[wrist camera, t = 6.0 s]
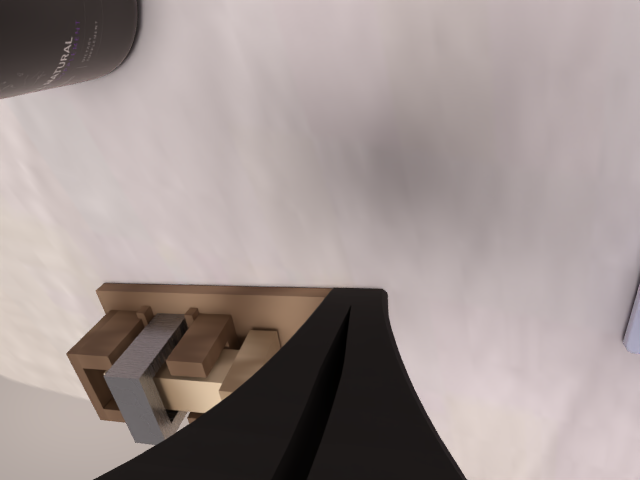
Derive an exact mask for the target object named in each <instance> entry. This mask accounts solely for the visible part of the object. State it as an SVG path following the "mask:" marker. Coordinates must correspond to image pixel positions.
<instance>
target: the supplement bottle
mask: <svg viewBox="0 0 640 480" xmlns="http://www.w3.org/2000/svg"><path fill="white" fill-rule="evenodd" d="M137 17H138V11H137V0H0V99H4V98H8V97H13V96H18V95H23V94H28V93H32V92H37V91H42V90H47V89H52V88H56V87H61V86H66V85H71V84H76V83H80V82H84V81H88V80H93V79H96V78H99V77H102V76H104V75H106V74H108V73H110V72H111V71H113V70H114V69H115V68H117V67H118V66H119V65H120V64H121V63H122V61H123V60H124V59H125V58H126V56H127V54H128V53H129V51H130V49H131V47H132V44H133V41H134V38H135V33H136V28H137Z"/></svg>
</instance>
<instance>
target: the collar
mask: <svg viewBox="0 0 640 480" xmlns="http://www.w3.org/2000/svg"><path fill="white" fill-rule="evenodd" d="M184 315H185V314H169V313H157V314H156V315H155V316H154V317H153V319H152V320H151V321H150V322H149V323H148V325H147V326H146V327H145V328H144V329H143V330H142V332H141V333H140V334H139V335H138V336H137V337H136V339H135V340H134V341H133V342H132V343H131V344H130V346H129V347H128V348H127V349H126V350H125V351H124V353H123V354H122V355H121V356H120V357H119V358H118V360H117V361H116V362H115V363H114V364H113V365H112V367H111V368H110V369H109V370H108V371H107V373H106V374H105V375H104V378H105V380H106V383H107V385H108V387H109V389H110V391H111V393H112V395H113V397H114V399H115V401H116V403H117V405H118V407H119V409H120V412H121V414H122V416H123V418H124V420H125V422H126V424H127V426H128V428H129V430H130V432H131V434H132V436H133V438H134V440H135V443H144V444H152V445H157V444H159V443H160V442H162V441H164V440H165V439H167V438H168V437H170V436H172V435H173V434H175V433H176V431H177V429H178V428H179V426H180V424H181V422H182V420H183V419H184V417H185V415H186V414H187V412H188V411H179V410H169V409H165V408H164V405H163V403H162V400H161V398H160V395H159V393H158V390H157V388H156V386H155V383H154V381H153V377H154V376H155V374H156V373H157V372H158V370H159V369H160V368H161V366H162V365H163V363H164V362H165V361H166V359H167V358H168V356H169V355H170V354H171V352H172V351H173V349H174V348H175V347H176V345H177V344H178V343H179V341H180V340H181V338H182V337H183V336H184V334H185V333H186V331H187V330H188V329H189V328H188V325H187V322H186V319H185V316H184Z"/></svg>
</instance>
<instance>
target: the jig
mask: <svg viewBox="0 0 640 480" xmlns="http://www.w3.org/2000/svg"><path fill="white" fill-rule="evenodd" d="M331 290H332V289H329V288H285V287H242V286H198V285H154V284H111V283H104V284H103V285H102V286H101V287H99V288H98V289H97V290H96V293H97V295H98V297H99V300H100V302H101V304H102V307H103V309H104V311H105V313H106V315H105V316H104V317H103V318H102V319H101V320H100V321H99V322H98V323H97V324H96V325H95V326H94V327H93V328H92V329H91V330H90V331H89V332H88V333H87V334H86V335H85V336H84V337H83V338H82V339H81V340H80V341H79V342H78V343H77V344H76V345H75V346H73V347H72V348H71V349H70V350H69V351H68V352H67V353H66V354H67V356H68V358H69V360H70V362H71V364H72V366H73V368H74V370H75V372H76V373H77V375H78V377H79V379H80V381H81V383H82V385H83V387H84V389H85V391H86V393H87V395H88V397H89V398H90V400H91V402H92V404H93V406H94V408H95V410H96V412H97V414H98V416H99V417H100V420H107V421H116V422H125V420H124V418H123V416H122V414H121V412H120V409H119V407H118V405H117V403H116V401H115V399H114V397H113V395H112V393H111V391H110V389H109V387H108V385H107V383H106V380H105V378H104V373H105V371H106V370H109V369H110V368H111V367H112V365H113V364H114V363H115V362H116V361H117V360H118V358H119V357H120V356H121V355H122V354H123V353H124V351H125V350H126V349H127V348H128V347H129V346H130V344H131V343H132V342H133V341H134V340H135V339H136V337H137V336H138V335H139V334H140V333H141V332H142V330H143V329H144V328H145V327H146V326H147V325H148V323H149V322H150V321H151V320H152V319H153V317H154V316H155V315H156V314H157V313H169V314H185V315H184V316H185V319H186V322H187V325H188V328H189V329H188V330H187V331H186V333H185V334H184V336H183V337H182V338H181V340H180V341H179V343H178V344H177V345H176V347H175V348H174V350H173V351H172V352H171V354H170V355H169V357H168V358H167V359H166V363H167V366H168V368H169V371H170V374H171V375H175V376H188V377H201V378H207V376H208V375H209V373H210V371H211V369H212V368H213V366H214V364H215V362H216V361H217V359H218V357H219V355H220V354H221V352H222V350H223V349H231V350H240V348H241V346H242V345H243V343H244V341H245V339H246V337H247V335H248V333H249V331H250V330H261V331H277V334H278V339H279V344H280V348H282V347H283V346H284V345H285V344H286V342H287V341H288V340H289V339H290V338H291V337H292V336H293V335H294V334H295V333H296V331H297V330H298V329H299V328H300V327H301V326H302V325H303V324H304V323H305V321H306V320H307V319H308V318H309V317H310V315H311V314H312V313H313V312H314V311H315V309H316V308H317V307H318V306H319V305H320V303H321V302H322V301H323V300H324V298H325V297H326V296H327V295H328V293H329V292H330V291H331ZM203 414H204V413H199V412H190V414H189V416H188V417H187V418H188V421H189V424H190V423H192V422H193V421H194V420H196V419H197V418H198V417H200V416H201V415H203ZM125 423H126V422H125Z"/></svg>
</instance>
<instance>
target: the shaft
mask: <svg viewBox="0 0 640 480" xmlns="http://www.w3.org/2000/svg"><path fill="white" fill-rule="evenodd" d="M280 349H281V348H280V344H279V339H278V334H277V331H261V330H250V331H249V333H248V335H247V337H246V339H245V341H244V343H243V345H242V346H241V348H240V350H231V349H223V350H222V352H221V354H220V355H219V357H218V359H217V361H216V362H215V364H214V366H213V368H212V369H211V371H210V373H209V375H208V376H207V378H201V377H188V376H175V375H171V374H170V371H169V368H168V366H167V363H166V361H165V362H164V363H163V365H162V366H161V368H160V369H159V370H158V372H157V373H156V374H155V376H154V377H153V381H154V383H155V386H156V388H157V390H158V393H159V395H160V398H161V400H162V403H163V405H164V408H165V409H169V410H179V411H190V412H199V413H205V412H207V411H208V410H210V409H211V408H212V407H214V406H215V405H217V404H218V403H219V402H221V401H222V400H223V399H225V398H226V397H227V396H229V395H230V394H231V393H232V392H234V391H235V390H236V389H237V388H238V387H240V386H241V385H242V384H243V383H244V382H246V381H247V380H248V379H249V378H250V377H251V376H253V375H254V374H255V373H256V372H257V371H258V370H259V369H260V368H261V367H262V366H263V365H264V364H266V363H267V362H268V361H269V360H270V359H271V358H272V357H273V356H274V355H275V354H276V353H277V352H278V351H279V350H280ZM173 350H174V349H173ZM168 357H169V356H168ZM107 371H108V370H106V371H105V373H104V375H105V374H106V373H107Z"/></svg>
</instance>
